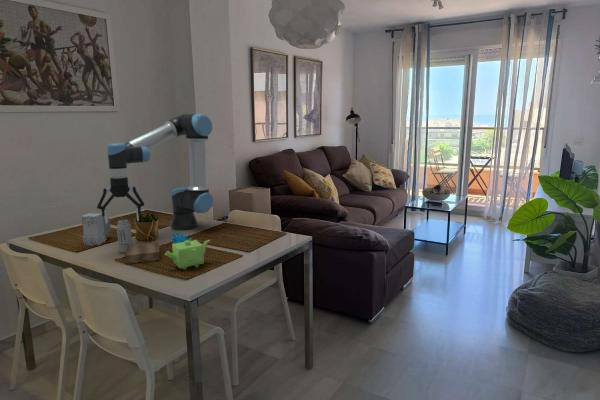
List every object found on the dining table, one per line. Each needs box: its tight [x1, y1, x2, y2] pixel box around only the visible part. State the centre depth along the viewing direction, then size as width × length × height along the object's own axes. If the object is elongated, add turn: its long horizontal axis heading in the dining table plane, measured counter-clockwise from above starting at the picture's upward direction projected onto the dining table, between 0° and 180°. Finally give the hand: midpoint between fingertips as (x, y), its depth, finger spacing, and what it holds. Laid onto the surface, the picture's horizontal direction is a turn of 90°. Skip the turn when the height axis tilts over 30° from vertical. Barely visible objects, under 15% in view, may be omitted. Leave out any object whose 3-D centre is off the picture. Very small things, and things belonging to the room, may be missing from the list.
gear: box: [170, 232, 192, 244], centre depth 200 cm, size 11×6×10 cm
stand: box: [125, 242, 161, 265], centre depth 187 cm, size 14×14×4 cm
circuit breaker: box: [80, 212, 112, 246], centre depth 211 cm, size 8×14×15 cm, turn 174°
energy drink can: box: [116, 219, 133, 254], centre depth 194 cm, size 6×6×15 cm
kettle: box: [164, 239, 211, 270], centre depth 176 cm, size 15×14×11 cm
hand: (122, 221), depth 193 cm, fingers open, 13 cm apart
